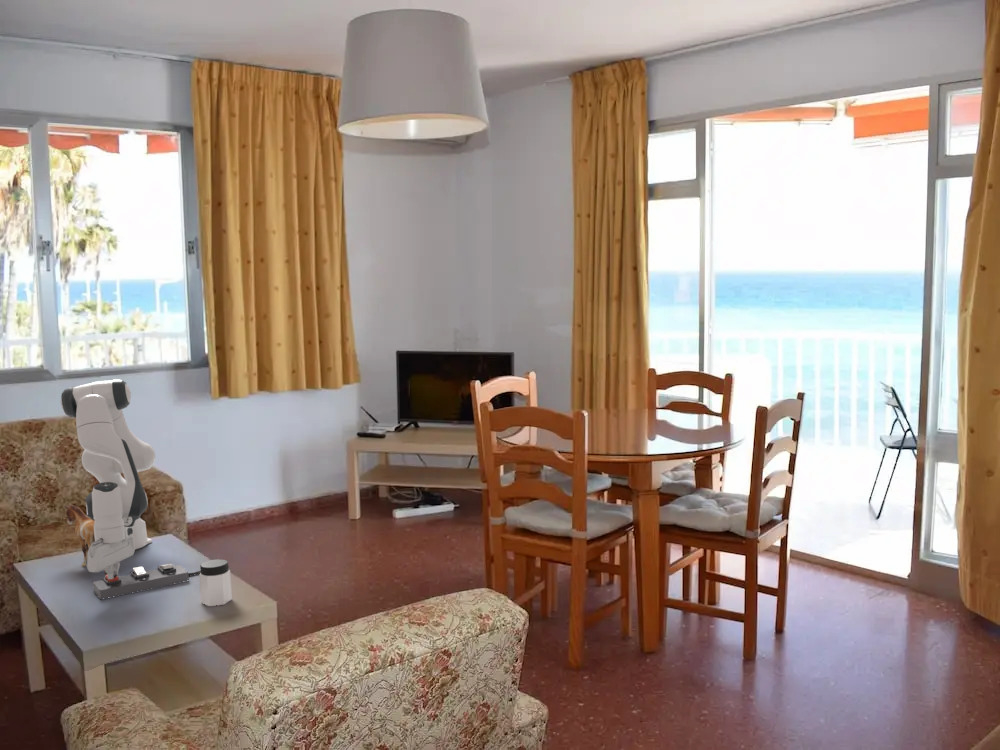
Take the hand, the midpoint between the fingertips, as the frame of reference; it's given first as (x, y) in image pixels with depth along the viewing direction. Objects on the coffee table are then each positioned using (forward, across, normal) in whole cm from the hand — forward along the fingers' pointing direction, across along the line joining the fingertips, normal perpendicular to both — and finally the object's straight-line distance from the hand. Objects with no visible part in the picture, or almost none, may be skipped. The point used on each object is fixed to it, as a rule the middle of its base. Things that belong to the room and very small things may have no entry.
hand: (113, 577), depth 291 cm
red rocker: (+1, +2, +2) cm, 3 cm away
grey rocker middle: (+1, +8, -4) cm, 9 cm away
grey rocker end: (+1, +14, -10) cm, 17 cm away
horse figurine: (+4, +20, +24) cm, 32 cm away
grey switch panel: (+5, +9, -8) cm, 13 cm away
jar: (+6, -4, -37) cm, 37 cm away
